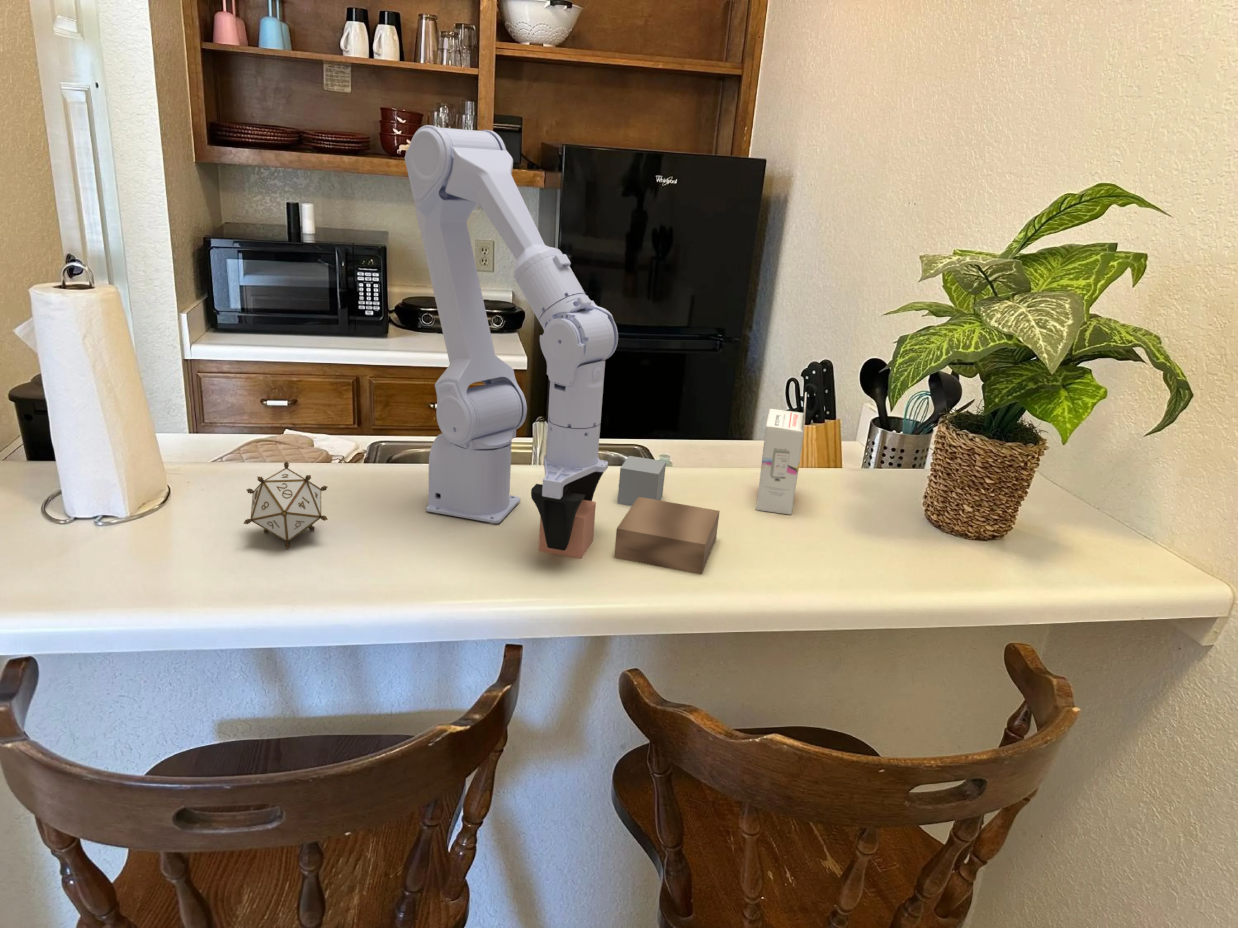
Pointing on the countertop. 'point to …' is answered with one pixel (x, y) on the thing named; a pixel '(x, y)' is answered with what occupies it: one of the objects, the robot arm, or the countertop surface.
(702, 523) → the walnut block
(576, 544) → the salmon pink cube
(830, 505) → the countertop surface
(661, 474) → the grey cube
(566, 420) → the robot arm
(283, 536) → the game die
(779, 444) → the ink cartridge box
